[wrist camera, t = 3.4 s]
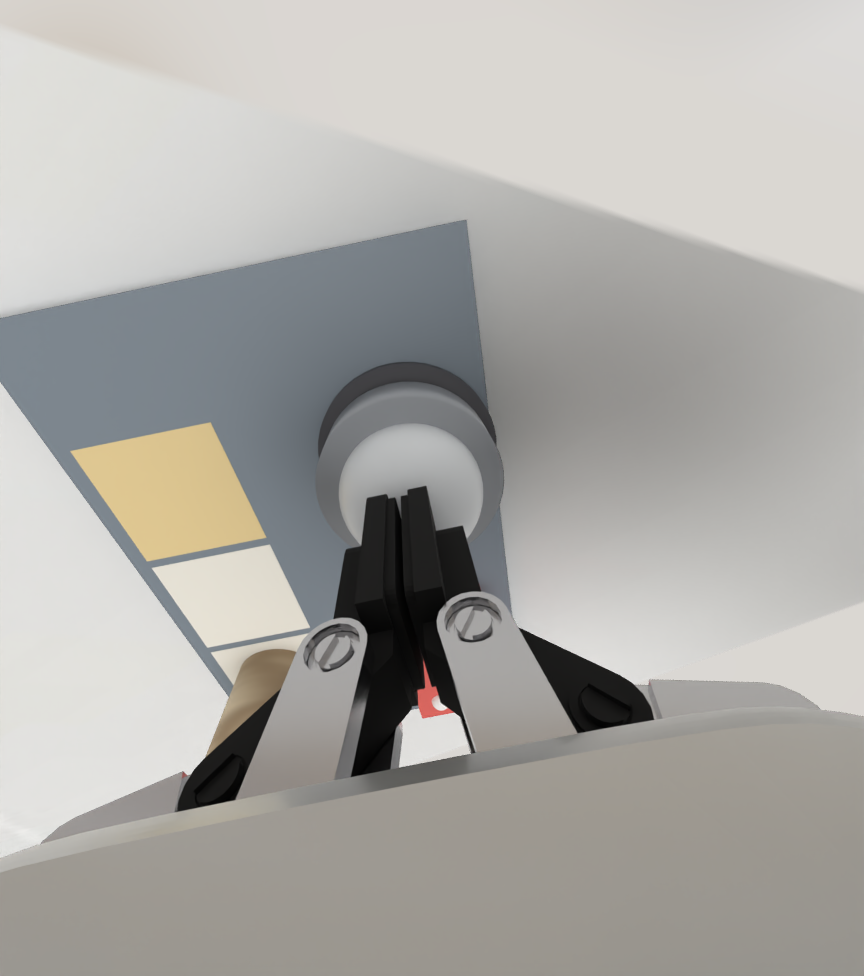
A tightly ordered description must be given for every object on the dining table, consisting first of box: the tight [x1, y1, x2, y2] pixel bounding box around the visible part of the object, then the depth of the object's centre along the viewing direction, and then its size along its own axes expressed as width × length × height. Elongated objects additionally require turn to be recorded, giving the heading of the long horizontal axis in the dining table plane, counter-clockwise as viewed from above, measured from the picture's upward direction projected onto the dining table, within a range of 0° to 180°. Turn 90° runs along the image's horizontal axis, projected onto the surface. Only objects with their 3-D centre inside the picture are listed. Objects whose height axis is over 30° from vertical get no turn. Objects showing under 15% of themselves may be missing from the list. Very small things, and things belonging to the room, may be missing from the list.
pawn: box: [206, 649, 296, 756], centre depth 18 cm, size 4×4×9 cm
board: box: [0, 220, 512, 718], centre depth 17 cm, size 17×25×6 cm
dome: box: [315, 382, 504, 547], centre depth 13 cm, size 6×6×5 cm
